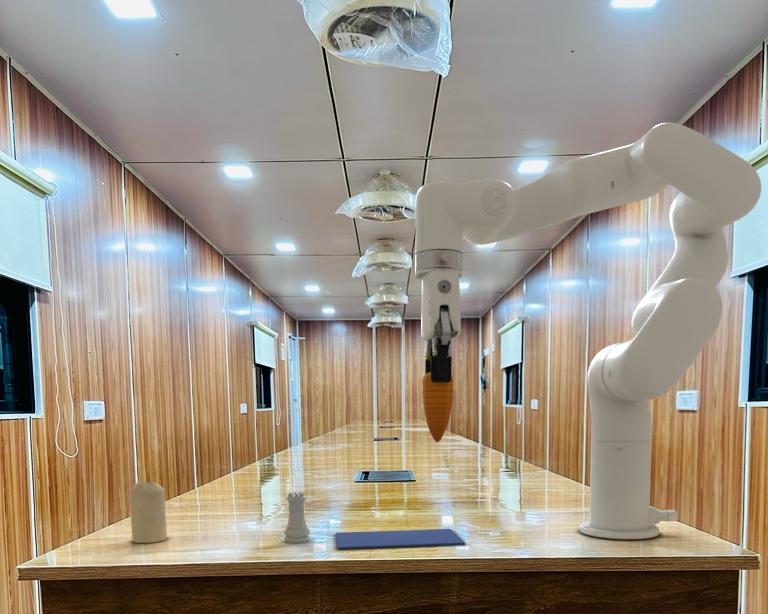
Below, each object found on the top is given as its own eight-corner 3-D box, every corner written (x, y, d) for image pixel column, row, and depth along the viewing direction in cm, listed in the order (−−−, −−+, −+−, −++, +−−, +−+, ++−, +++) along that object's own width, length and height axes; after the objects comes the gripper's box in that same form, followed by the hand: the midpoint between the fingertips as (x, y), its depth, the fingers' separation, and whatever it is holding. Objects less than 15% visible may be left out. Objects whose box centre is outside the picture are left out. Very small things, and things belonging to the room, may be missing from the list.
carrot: (450, 443, 104) (452, 347, 103) (419, 442, 105) (420, 347, 104) (454, 441, 109) (455, 350, 108) (424, 441, 110) (425, 350, 109)
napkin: (450, 531, 115) (450, 528, 115) (465, 545, 103) (465, 542, 103) (336, 534, 113) (335, 532, 113) (337, 549, 102) (337, 547, 101)
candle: (173, 538, 113) (170, 480, 112) (150, 544, 108) (146, 483, 107) (149, 536, 115) (146, 479, 114) (125, 542, 110) (121, 482, 109)
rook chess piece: (316, 540, 109) (315, 492, 108) (295, 544, 106) (293, 495, 105) (299, 537, 112) (297, 490, 111) (278, 541, 109) (276, 493, 108)
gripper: (474, 255, 96) (472, 381, 98) (451, 278, 113) (450, 385, 115) (424, 254, 96) (423, 380, 98) (408, 277, 112) (407, 384, 114)
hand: (437, 381), depth 106 cm, fingers closed on carrot, 4 cm apart
